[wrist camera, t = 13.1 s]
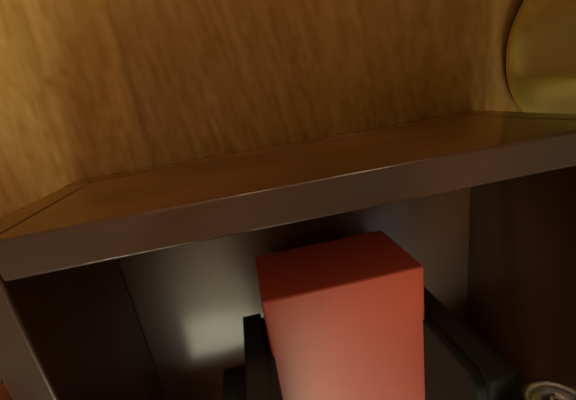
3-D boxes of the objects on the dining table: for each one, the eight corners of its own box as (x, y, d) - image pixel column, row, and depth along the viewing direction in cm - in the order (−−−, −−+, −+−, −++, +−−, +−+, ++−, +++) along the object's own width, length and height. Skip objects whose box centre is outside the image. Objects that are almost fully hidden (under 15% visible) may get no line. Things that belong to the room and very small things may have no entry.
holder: (169, 440, 14) (134, 628, 9) (74, 180, 10) (-71, 253, 5) (469, 359, 16) (582, 481, 11) (476, 110, 12) (653, 115, 7)
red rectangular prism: (391, 378, 12) (428, 443, 10) (284, 406, 12) (297, 481, 9) (381, 228, 10) (424, 265, 8) (254, 256, 10) (261, 302, 7)
